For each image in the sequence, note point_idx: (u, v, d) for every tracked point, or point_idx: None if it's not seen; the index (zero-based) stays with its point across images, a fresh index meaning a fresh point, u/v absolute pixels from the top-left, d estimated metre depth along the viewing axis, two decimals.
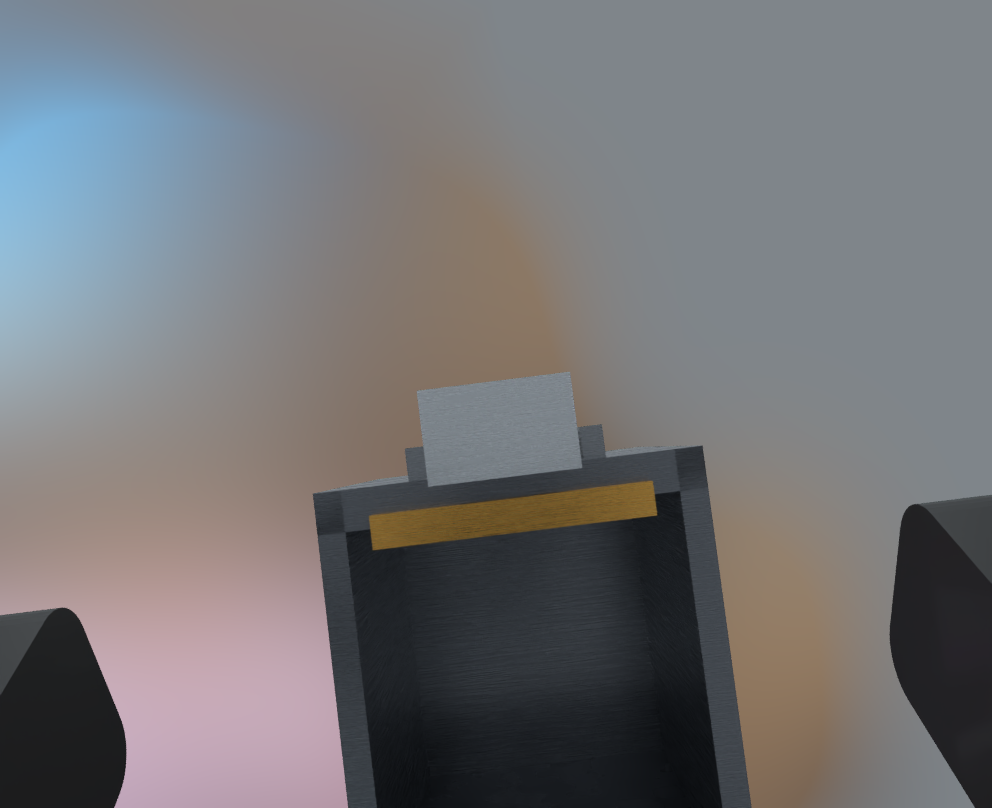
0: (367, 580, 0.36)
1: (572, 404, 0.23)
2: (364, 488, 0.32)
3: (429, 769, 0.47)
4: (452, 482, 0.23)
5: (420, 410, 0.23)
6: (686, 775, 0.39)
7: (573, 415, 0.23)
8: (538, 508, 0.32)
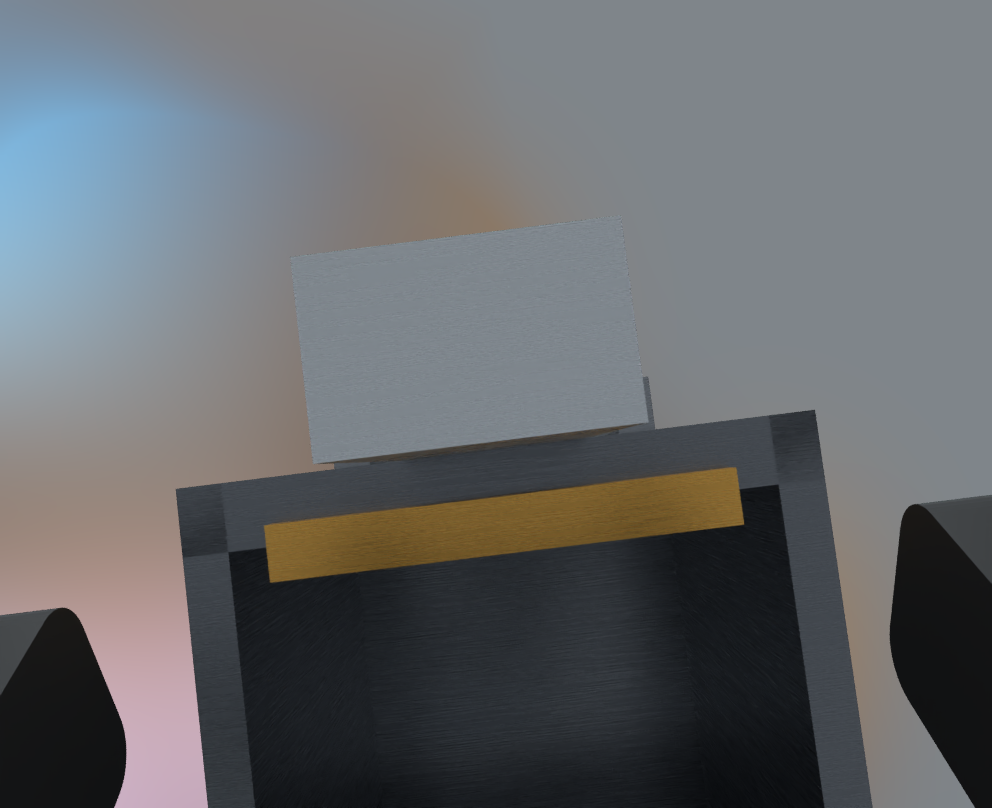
0: (278, 625, 0.23)
1: (626, 285, 0.11)
2: (260, 480, 0.20)
3: None
4: (366, 454, 0.11)
5: (297, 299, 0.11)
6: None
7: (629, 308, 0.11)
8: (546, 513, 0.19)
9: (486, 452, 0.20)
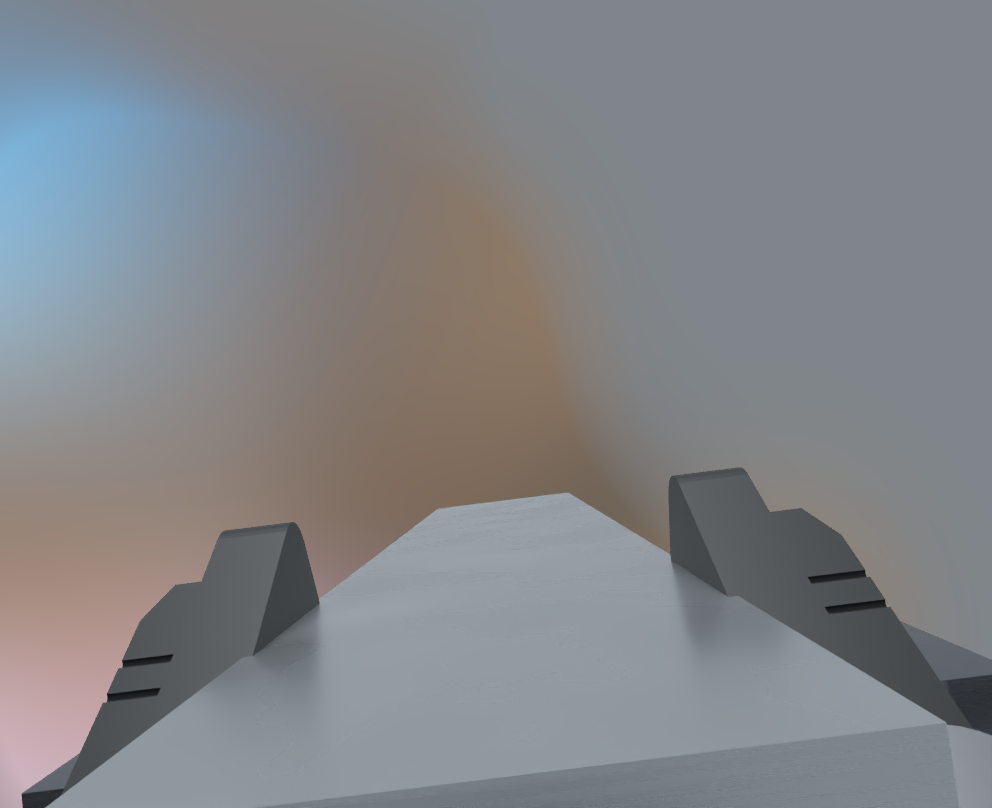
0: None
1: None
2: None
3: None
4: None
5: None
6: None
7: None
8: None
9: None
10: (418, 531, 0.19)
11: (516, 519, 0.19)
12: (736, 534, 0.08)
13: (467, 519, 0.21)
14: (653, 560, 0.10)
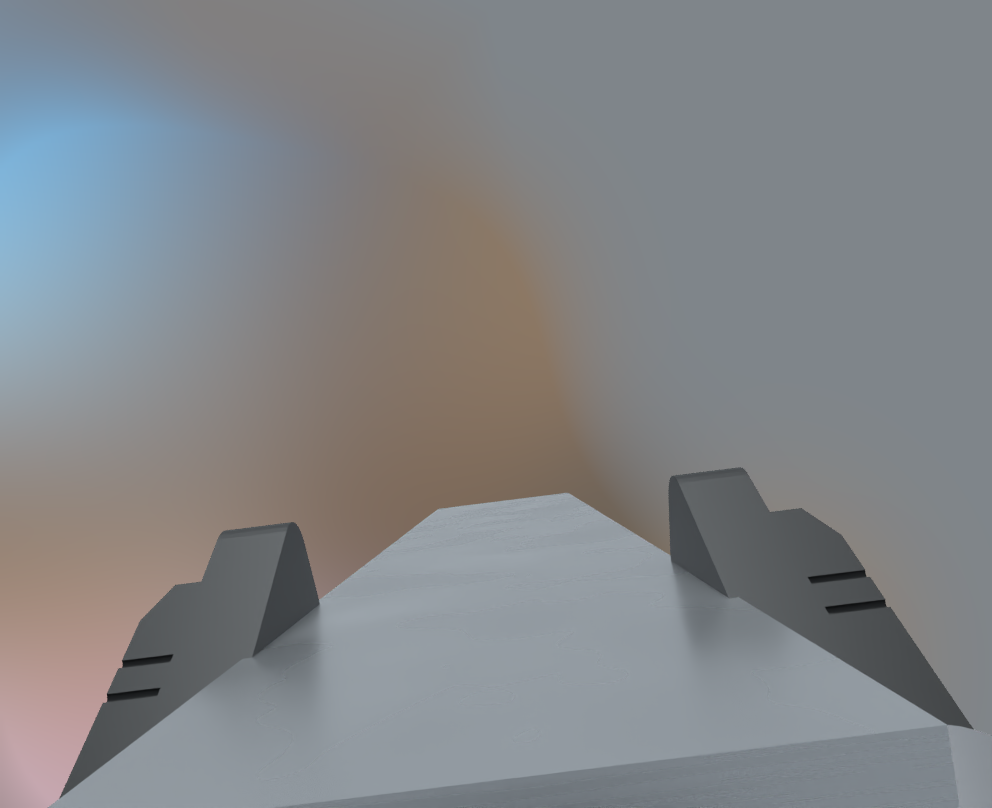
0: None
1: None
2: None
3: None
4: None
5: None
6: None
7: None
8: None
9: None
10: (418, 531, 0.19)
11: (516, 519, 0.19)
12: (738, 534, 0.08)
13: (467, 519, 0.21)
14: (653, 561, 0.10)
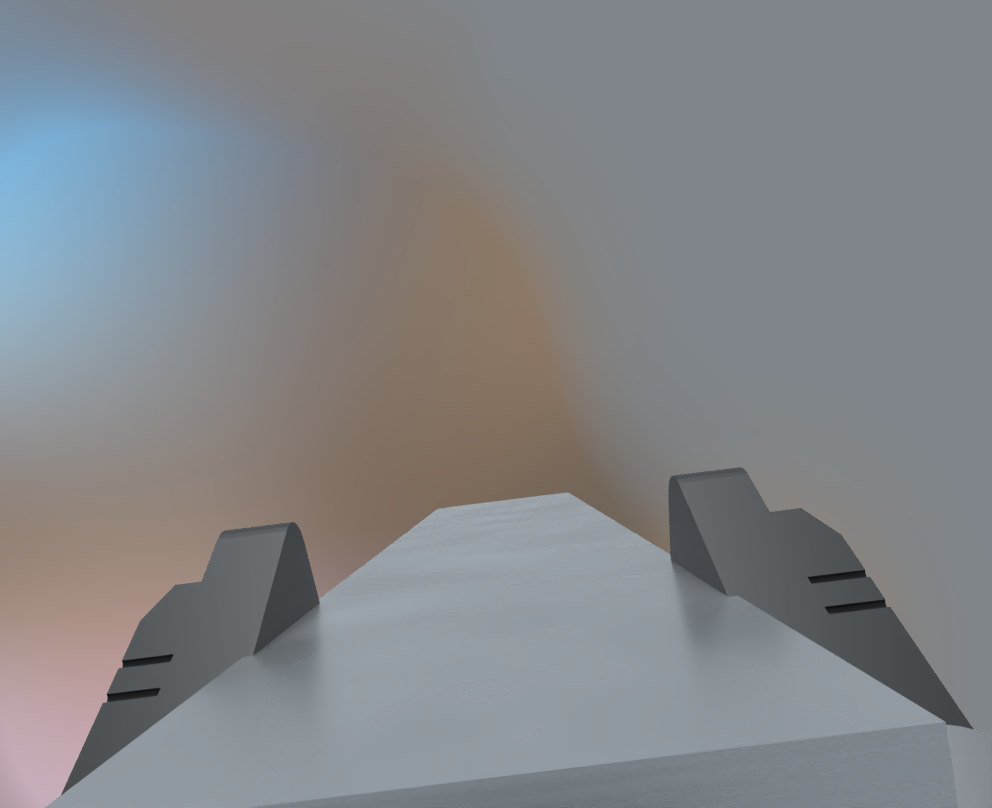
0: None
1: None
2: None
3: None
4: None
5: None
6: None
7: None
8: None
9: None
10: (418, 531, 0.19)
11: (516, 519, 0.19)
12: (738, 534, 0.08)
13: (467, 519, 0.21)
14: (653, 560, 0.10)
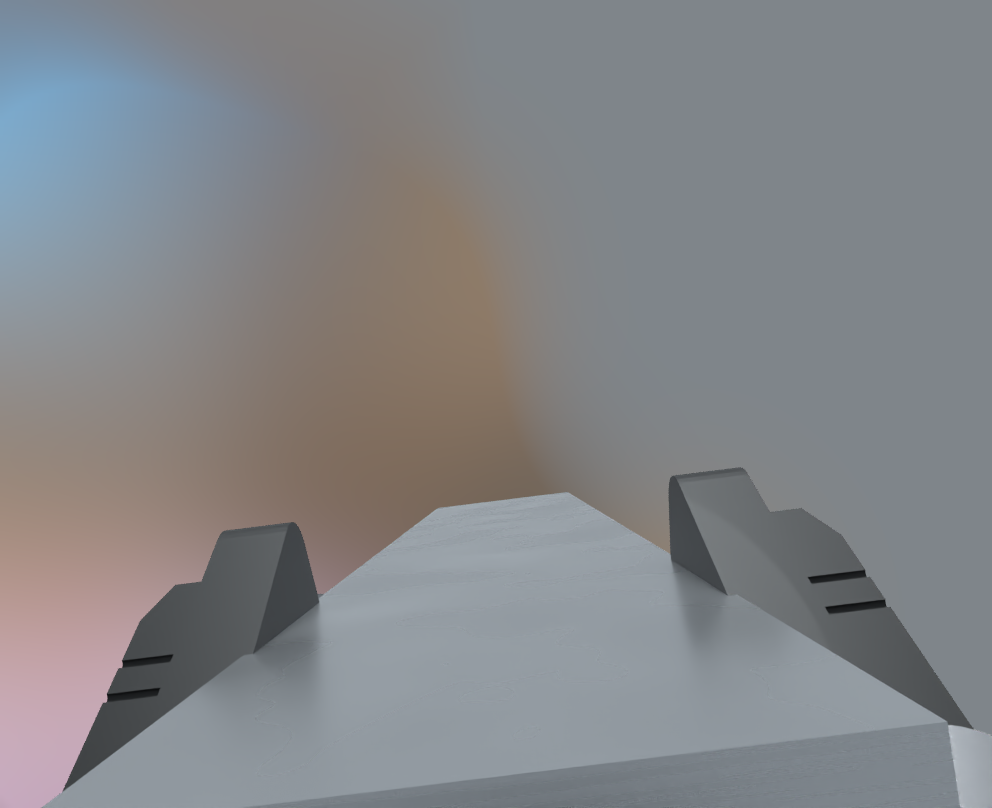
0: None
1: None
2: None
3: None
4: None
5: None
6: None
7: None
8: None
9: None
10: (418, 530, 0.19)
11: (516, 518, 0.19)
12: (738, 534, 0.08)
13: (467, 518, 0.21)
14: (653, 559, 0.10)
